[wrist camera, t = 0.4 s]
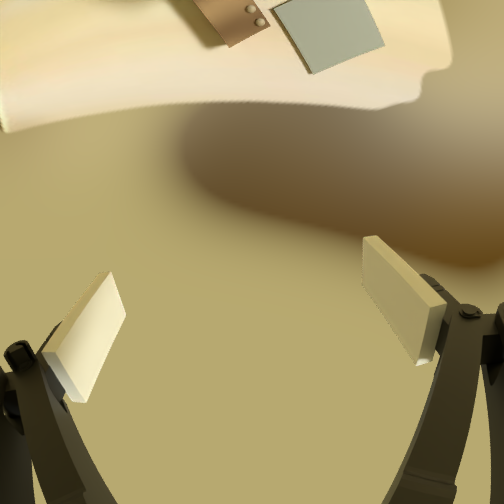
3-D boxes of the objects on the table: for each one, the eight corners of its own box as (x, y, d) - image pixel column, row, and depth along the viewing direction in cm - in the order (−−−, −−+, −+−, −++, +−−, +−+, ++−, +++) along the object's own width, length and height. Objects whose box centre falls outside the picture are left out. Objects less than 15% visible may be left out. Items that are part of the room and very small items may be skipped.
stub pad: (273, 8, 29) (273, 8, 28) (351, -23, 25) (352, -23, 24) (312, 73, 36) (313, 74, 35) (383, 44, 32) (385, 45, 31)
